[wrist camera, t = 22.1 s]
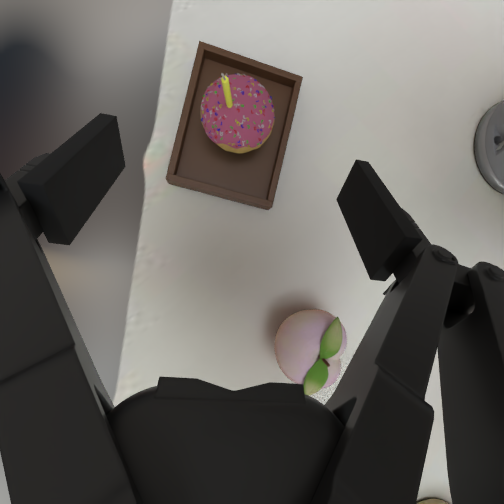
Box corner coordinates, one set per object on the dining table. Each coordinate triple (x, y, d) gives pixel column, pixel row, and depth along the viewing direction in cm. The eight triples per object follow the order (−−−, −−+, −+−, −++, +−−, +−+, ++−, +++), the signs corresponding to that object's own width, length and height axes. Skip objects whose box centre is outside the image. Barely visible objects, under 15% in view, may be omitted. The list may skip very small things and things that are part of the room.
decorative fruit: (275, 294, 36) (298, 312, 26) (330, 306, 37) (372, 327, 27) (260, 360, 35) (277, 404, 25) (315, 370, 37) (352, 416, 27)
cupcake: (215, 172, 33) (215, 130, 22) (192, 109, 33) (179, 30, 21) (275, 153, 35) (307, 102, 23) (254, 91, 34) (275, 6, 22)
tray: (200, 54, 34) (199, 40, 32) (297, 87, 36) (302, 76, 33) (168, 183, 33) (165, 178, 31) (268, 210, 35) (271, 207, 33)
